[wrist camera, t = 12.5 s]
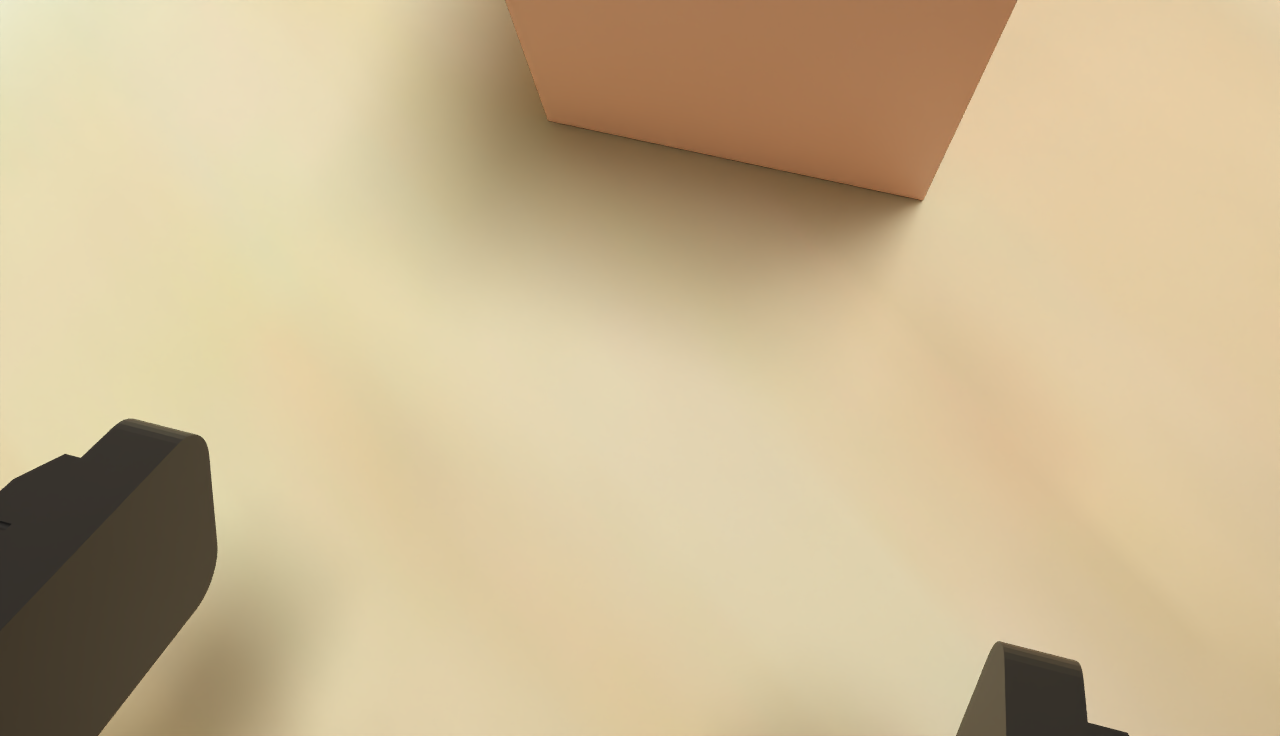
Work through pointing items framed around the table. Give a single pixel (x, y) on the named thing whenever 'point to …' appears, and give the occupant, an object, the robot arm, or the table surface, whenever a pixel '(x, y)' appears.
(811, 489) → the table surface
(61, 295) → the table surface
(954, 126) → the terracotta clay block
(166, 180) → the table surface
